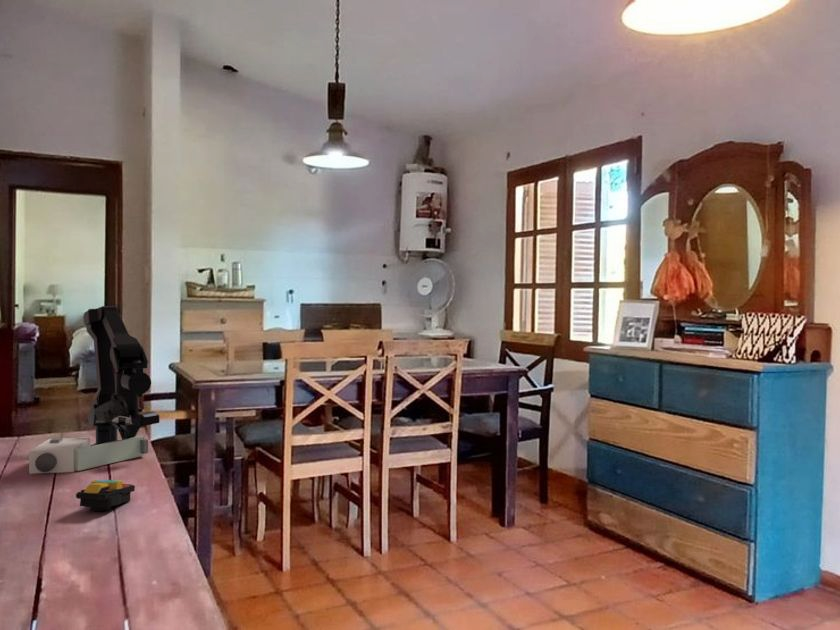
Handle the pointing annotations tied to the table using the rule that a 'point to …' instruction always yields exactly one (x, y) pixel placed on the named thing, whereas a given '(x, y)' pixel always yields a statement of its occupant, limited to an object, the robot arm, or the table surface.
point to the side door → (110, 452)
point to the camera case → (56, 455)
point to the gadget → (105, 494)
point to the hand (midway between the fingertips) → (127, 448)
